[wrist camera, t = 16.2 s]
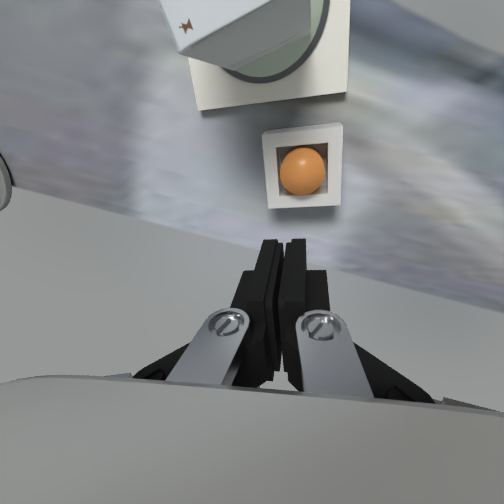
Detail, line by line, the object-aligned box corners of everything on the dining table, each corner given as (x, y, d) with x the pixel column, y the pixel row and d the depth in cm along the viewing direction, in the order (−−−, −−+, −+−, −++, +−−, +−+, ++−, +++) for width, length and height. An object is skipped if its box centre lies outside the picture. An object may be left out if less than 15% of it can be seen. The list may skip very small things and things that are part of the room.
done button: (283, 187, 30) (281, 196, 27) (281, 146, 28) (278, 152, 25) (323, 184, 29) (324, 193, 26) (323, 142, 27) (324, 148, 24)
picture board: (200, 110, 29) (197, 110, 28) (164, -89, 22) (158, -97, 21) (346, 91, 26) (347, 91, 25) (354, -146, 19) (356, -157, 18)
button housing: (272, 197, 32) (268, 208, 29) (266, 130, 28) (261, 134, 25) (337, 193, 30) (340, 205, 27) (339, 122, 27) (342, 126, 24)
